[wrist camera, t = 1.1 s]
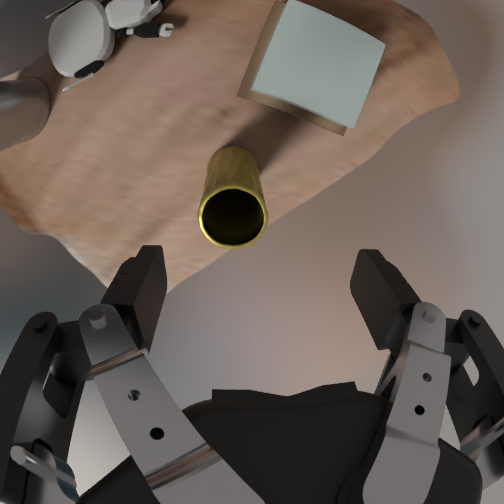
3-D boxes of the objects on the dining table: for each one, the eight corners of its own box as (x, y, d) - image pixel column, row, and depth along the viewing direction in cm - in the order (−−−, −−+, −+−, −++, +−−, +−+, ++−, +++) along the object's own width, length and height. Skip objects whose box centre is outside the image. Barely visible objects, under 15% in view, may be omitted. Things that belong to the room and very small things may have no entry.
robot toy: (158, -28, 18) (55, 25, 18) (151, -43, 14) (38, 19, 15) (181, 41, 24) (73, 94, 25) (177, 32, 20) (56, 94, 21)
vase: (238, 135, 30) (242, 162, 18) (268, 175, 33) (290, 227, 21) (197, 165, 32) (174, 212, 20) (227, 203, 35) (225, 267, 22)
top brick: (249, 89, 24) (252, 88, 21) (282, 9, 19) (289, -2, 16) (338, 124, 26) (353, 128, 23) (368, 49, 21) (385, 44, 18)
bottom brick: (236, 96, 28) (236, 95, 24) (270, 10, 22) (275, 0, 19) (331, 131, 30) (343, 136, 27) (363, 50, 25) (378, 46, 21)
